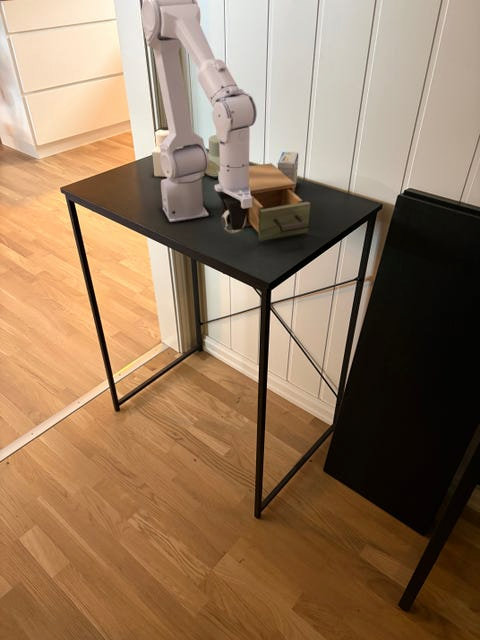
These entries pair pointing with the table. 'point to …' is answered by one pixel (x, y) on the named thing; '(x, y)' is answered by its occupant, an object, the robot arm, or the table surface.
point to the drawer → (278, 214)
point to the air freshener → (213, 157)
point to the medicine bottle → (156, 154)
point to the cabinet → (267, 180)
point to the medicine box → (289, 165)
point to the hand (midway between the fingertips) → (234, 225)
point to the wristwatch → (224, 224)
